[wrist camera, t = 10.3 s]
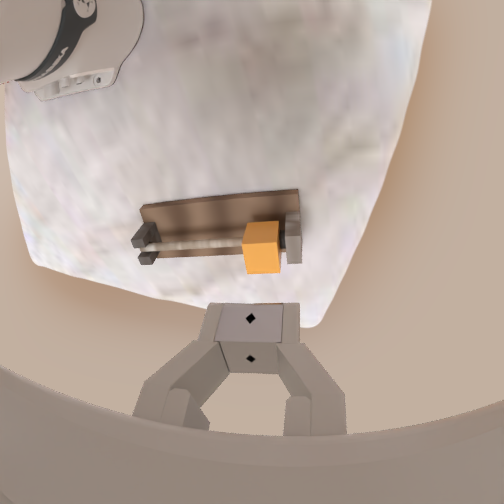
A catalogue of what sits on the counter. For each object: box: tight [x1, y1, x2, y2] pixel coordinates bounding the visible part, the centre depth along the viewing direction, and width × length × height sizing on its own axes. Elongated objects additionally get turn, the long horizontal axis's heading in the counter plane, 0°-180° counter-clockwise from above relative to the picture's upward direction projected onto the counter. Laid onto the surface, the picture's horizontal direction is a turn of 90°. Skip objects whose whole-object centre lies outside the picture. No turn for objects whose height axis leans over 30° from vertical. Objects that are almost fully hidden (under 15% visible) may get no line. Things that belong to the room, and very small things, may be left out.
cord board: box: [131, 189, 302, 265], centre depth 39 cm, size 23×9×8 cm, turn 98°
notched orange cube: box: [241, 221, 282, 274], centre depth 36 cm, size 4×4×5 cm
